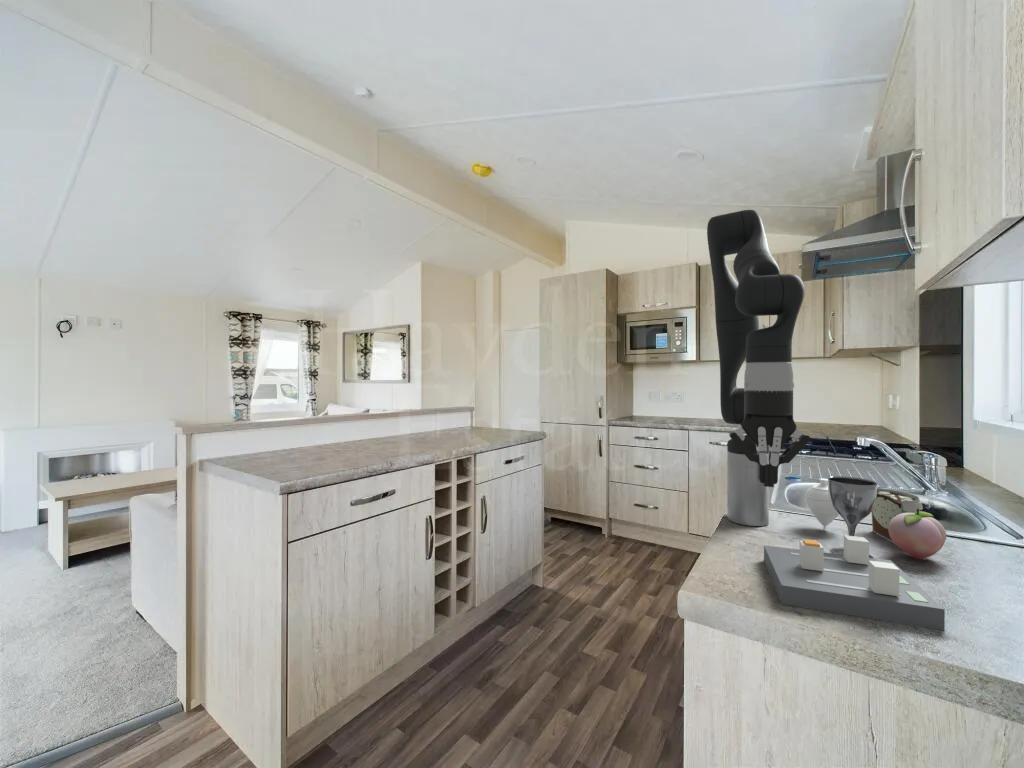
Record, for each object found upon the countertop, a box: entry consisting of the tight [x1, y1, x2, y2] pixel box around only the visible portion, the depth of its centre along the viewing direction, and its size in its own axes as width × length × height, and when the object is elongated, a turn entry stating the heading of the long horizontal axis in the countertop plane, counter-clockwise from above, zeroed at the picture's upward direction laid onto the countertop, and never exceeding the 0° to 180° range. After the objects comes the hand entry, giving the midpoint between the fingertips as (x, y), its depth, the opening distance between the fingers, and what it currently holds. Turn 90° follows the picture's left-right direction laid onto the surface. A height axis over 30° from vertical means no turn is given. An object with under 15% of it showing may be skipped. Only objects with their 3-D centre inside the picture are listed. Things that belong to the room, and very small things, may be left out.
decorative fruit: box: [888, 509, 947, 560], centre depth 88 cm, size 9×8×10 cm
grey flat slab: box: [763, 545, 946, 631], centre depth 75 cm, size 18×20×3 cm
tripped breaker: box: [799, 538, 825, 571], centre depth 76 cm, size 2×3×4 cm
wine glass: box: [827, 475, 878, 559], centre depth 90 cm, size 8×8×15 cm
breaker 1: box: [843, 534, 870, 565], centre depth 79 cm, size 2×3×4 cm
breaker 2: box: [869, 561, 900, 596], centre depth 68 cm, size 2×3×4 cm
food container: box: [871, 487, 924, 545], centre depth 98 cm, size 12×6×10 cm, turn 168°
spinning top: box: [804, 478, 840, 530], centre depth 104 cm, size 8×8×12 cm
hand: (767, 485), depth 79 cm, fingers closed
